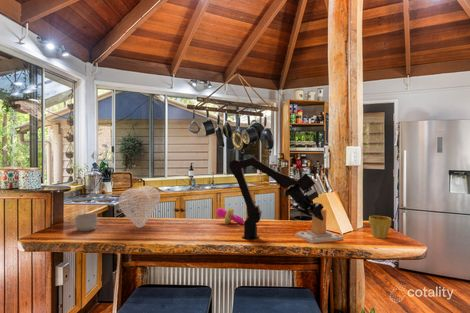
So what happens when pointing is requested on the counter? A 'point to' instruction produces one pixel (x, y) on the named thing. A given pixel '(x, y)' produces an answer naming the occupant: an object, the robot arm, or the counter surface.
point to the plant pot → (379, 226)
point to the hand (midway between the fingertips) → (317, 218)
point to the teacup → (86, 221)
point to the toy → (229, 215)
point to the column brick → (319, 224)
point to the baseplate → (318, 237)
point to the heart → (130, 216)
